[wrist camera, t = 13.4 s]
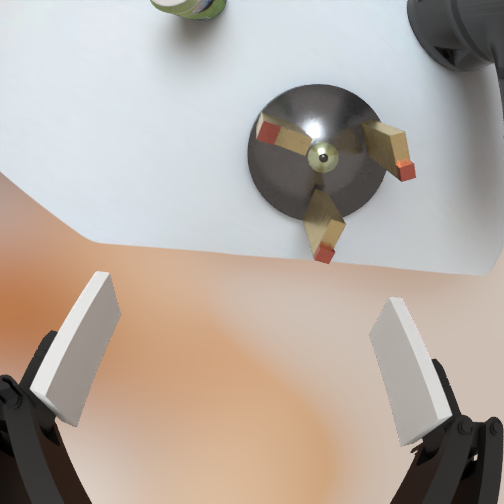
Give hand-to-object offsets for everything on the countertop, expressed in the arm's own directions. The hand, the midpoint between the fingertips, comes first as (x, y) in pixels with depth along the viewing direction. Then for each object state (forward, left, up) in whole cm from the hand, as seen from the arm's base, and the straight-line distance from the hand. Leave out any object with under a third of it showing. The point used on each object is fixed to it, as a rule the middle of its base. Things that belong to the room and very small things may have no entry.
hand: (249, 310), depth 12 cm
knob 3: (-15, +2, -26) cm, 30 cm away
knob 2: (-5, +9, -26) cm, 28 cm away
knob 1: (-4, -3, -26) cm, 26 cm away
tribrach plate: (-8, +2, -28) cm, 29 cm away
